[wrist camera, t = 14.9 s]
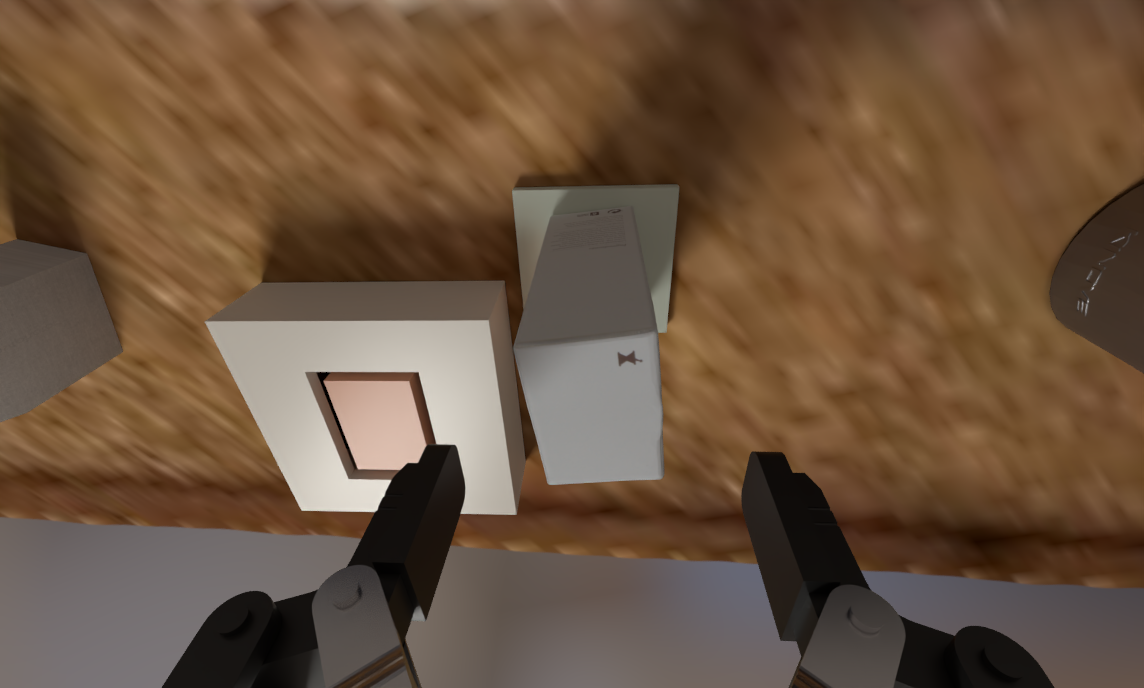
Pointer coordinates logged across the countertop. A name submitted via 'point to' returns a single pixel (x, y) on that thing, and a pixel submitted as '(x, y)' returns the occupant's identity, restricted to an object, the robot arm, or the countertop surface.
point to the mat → (648, 201)
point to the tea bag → (48, 324)
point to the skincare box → (592, 352)
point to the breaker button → (382, 417)
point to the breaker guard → (378, 344)
